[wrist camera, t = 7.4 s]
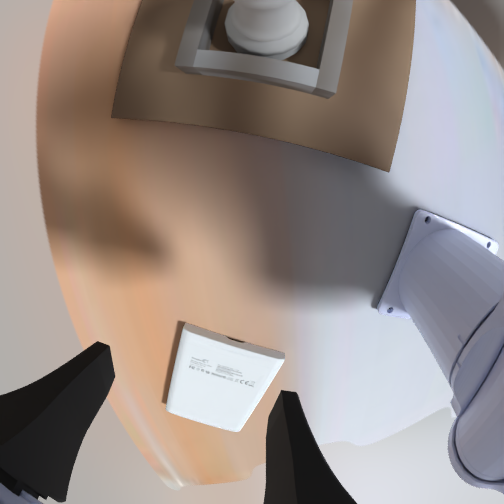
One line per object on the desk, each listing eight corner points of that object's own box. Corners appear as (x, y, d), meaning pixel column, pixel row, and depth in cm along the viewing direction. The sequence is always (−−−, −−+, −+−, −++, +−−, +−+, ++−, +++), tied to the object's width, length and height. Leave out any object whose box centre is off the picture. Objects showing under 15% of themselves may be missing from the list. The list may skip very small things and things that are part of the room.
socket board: (410, -5, 10) (428, -21, 7) (383, 170, 15) (403, 177, 12) (170, -46, 10) (157, -65, 7) (119, 118, 15) (93, 117, 12)
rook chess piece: (216, 16, 11) (171, -59, 4) (288, -6, 10) (294, -90, 3) (244, 75, 13) (214, 16, 5) (320, 52, 12) (358, -17, 5)
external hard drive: (168, 399, 26) (187, 317, 21) (241, 421, 26) (285, 348, 21) (164, 410, 24) (181, 330, 20) (239, 433, 25) (285, 362, 20)
